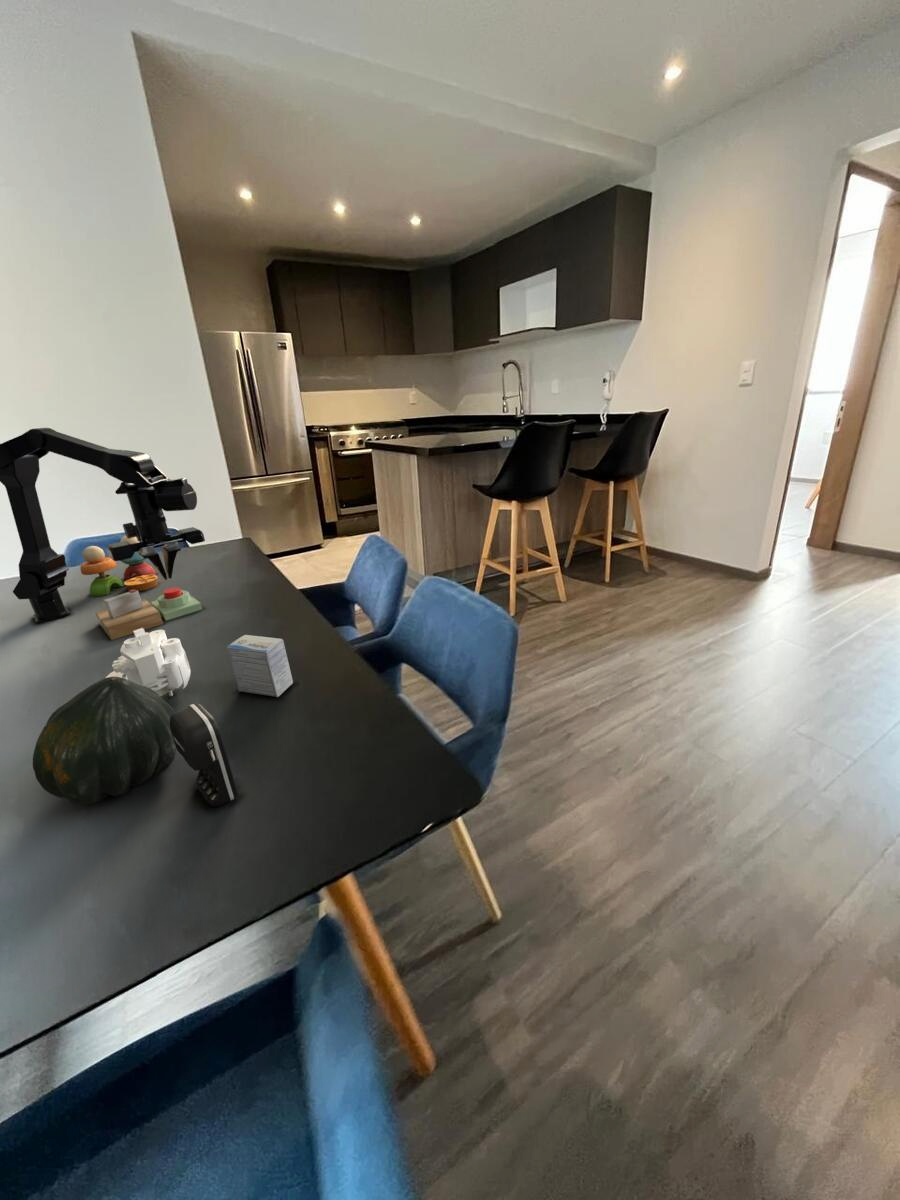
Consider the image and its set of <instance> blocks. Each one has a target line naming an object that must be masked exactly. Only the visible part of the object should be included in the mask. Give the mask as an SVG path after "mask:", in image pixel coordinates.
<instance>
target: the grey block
mask: <svg viewBox="0 0 900 1200" xmlns="http://www.w3.org/2000/svg"><path fill="white" fill-rule="evenodd" d="M141 600H142V599H141V595H140V591H137V590H134V589H133V590H130V591H129V590H128V591H127V592H124V593H121V594H118V595H114V596H112V597H109V598H105V599H103V602H104V604H105V607H106V610H108V613H109V616H110V617H112V618H115V617H118V616H121V615H123V614H126V613H129V612H132V611H134V610H137V609H140V608H142V607H143V604H142V601H141Z"/></svg>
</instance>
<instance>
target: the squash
mask: <svg viewBox="0 0 900 1200" xmlns="http://www.w3.org/2000/svg"><path fill="white" fill-rule="evenodd" d="M174 713H176V712H175V711H174V709H173V707H172V706H171V705H170V704H169V703H168V701H165V700H164V699H163V698H162V696H161V697H160V696H159V695H158V694H157V693H156V692H155V691H154V690H152V689H150V688H148V687H146V686H144V685H142V684H139V683H135V682H133V681H130V680H127V679H124V678H120V677H108V678H106V677H105V678H101V679H100V680H98V681H96V682H94V683H93V684H91V685H90V686H88V687H86V688H85V689H83V690H81V691H80V692H78V693H77V694H76V695H74V696H73V697H72V698H71V699H69V700H68V701H66V702H65V703H64V704H62V705H60V706H59V707H58V708H56V710H55V711H53V712H52V713H51V715H50V716H49V717H48V719H47V721H46V723H45V725H44V727H43V728H42V730H41V732H40V733H39V735H38V738H37V740H36V742H35V746H34V751H33V755H32V769H33V772H34V776H35V778H36V781H37V782H38V784H39V785H40V786H41V787H42V789H43V790H44V791H45V792H46V793H48V794H50V795H52V796H54V797H57V798H59V799H65V800H67V801H69V802H70V803H72V804H74V805H79V806H85V805H86V806H87V805H93V804H96V803H99V802H100V801H102V800H103V799H105V798H106V797H107V796H108V795H109V796H114V797H118V796H121V795H124V794H126V793H127V792H128V791H129V790H130V788H131V786H140V785H141V784H144V783H145V782H147V780H148V779H149V778H150V777H151V778H152V777H154V776H157V775H159V774H161V773H162V772H164V771H166V770H167V769H168V768H169V767H170V766H171V765H172V763H173V762H174V761H175V758H176V752H177V748H176V746H175V743H174V739H173V736H172V732H171V728H170V718H171V716H172V715H173V714H174Z"/></svg>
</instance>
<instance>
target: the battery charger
mask: <svg viewBox="0 0 900 1200" xmlns="http://www.w3.org/2000/svg"><path fill="white" fill-rule="evenodd" d="M170 728H171V732H172V736H173V739H174V743H175V746H176V751H178V753H179V754H180V755H181V756H182V758H183V759H184V761H185V762H186V764H187V765H188V766H189V767H190V768H191V769H192V770H194V771H198V774H197V778H196V780H195V786H196V788H197V790H198V791H199V792H200V794H201V795H202V796H203V798H204V799H205V800H206V803H208V804H209V805H210V806H211V807H213V808H214V807H220V806H222V805H224V804H227V803H228V802H230V801H231V802H232V801H233V800H235V798H237V797H238V796H239V791H238V788H237V784H236V781H235V778H234V773H233V771H232V767H231V763H230V759H229V757H228V753H227V749H226V746H225V743H224V740H223V736H222V733H221V730H220V727H219V725H218V723H217V721H216V719H215V718H214V716H213V715H212V714H211V713H210V712H209V711H208V710H207V709H206V708H205V707H204V706H203V705H202V704H201V703H200V702H199V703H198V702H197V703H192V704H189V705H188V706H187V707H185V708H182V709H180V710H178V711H176V712H175V713H174V714H173V715H172V716H171V718H170Z"/></svg>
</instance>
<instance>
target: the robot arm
mask: <svg viewBox="0 0 900 1200" xmlns="http://www.w3.org/2000/svg"><path fill="white" fill-rule="evenodd" d="M49 453H53V454H56V455H59V456H62V457H65V458H69V459H72V460H75V461H78V462H81V463H84V464H87V465H90V466H93V467H95V468H96V467H97V468H98V469H101V470H102V471H104V472H105V473H106V474H107V475H109V476H110V477H112V478H114V479H116V480H118V481H120V484H119V487H117V489H116V490H115V491H114V492H115V494H116V495H126V497H127V499H128V503H129V506H130V509H131V512H132V515H133V519H134V523H133V522H127V523H123V524H122V528H123V531H124V534H125V536H126V537H127V538H128V539H129V538H133V537H136V538H137V540H138V541H139V543H134V544H129V543H128V542H126V541H123V542H120V541H118V542H114V543H109V544H107V546H106V552H107V555H108V557H110V558H111V559H112V560H113V561H115V562H121V561H120V560H125V559H129V558H132V556H133V555H134V552H138V554H139V555H140V556H141V557H143V558H144V559H146V558H147V559H148V560H149V561H150V562H151V564H153V566H154V567H155V569H156V570H157V571H158V573H159V574H160V575H161V577H162V578H163V579H164V580H165V581H167V580H168V579H169V580H170V579H172V578H173V571H174V565H175V560H176V558H177V554H178V552H180V551H182V547H180V546H179V543H184V542H187V543H189V544H190V545H194V544H199V543H204V542H205V541H206V539H205V534H204V533H203V531H202V530H200V529H198V528H197V527H193V526H192V527H187V528H182V529H178V530H177V534H173V535H171V534H170V531H169V528H168V525H167V518H166V516H165V514H164V511H165V512H178V511H179V512H180V511H194V510H195V509H196V507H197V505H198V496H197V492H196V491H195V489H194V488H193V486H192V485H191V484H190V483H188V478H186V477H181V478H177V479H176V478H175V479H170V478H169V477H168V476H167V475H166V474H165V473H164V472H163V471H162V470H161V469H160V468H159V467H157V465H155V463H154V461H153V460H152V458H151V456H149V454H147V453H145V452H141V451H134V450H127V449H115V448H114V449H113V448H108V447H105V446H104V445H103V446H102V445H100V444H97V443H93V442H90V441H87V440H83V439H80V438H79V437H75V436H72V435H68V434H65V433H63V432H59V431H57V430H55V429H53V428H50V427H38V428H31V429H29V430H27V431H26V432H23V433H22V434H20V435H18V436H16V437H13V438H11V439H8V440H6V441H4V442H2V443H0V483H1V484H2V485H3V486H4V488H5V490H6V493H7V498H8V501H9V505H10V508H11V512H12V515H13V520H14V523H15V527H16V531H17V533H18V537H19V541H20V545H21V548H22V553H21V556H20V558H19V562H18V571H19V572H18V574H19V575H18V576H19V580H18V582H17V584H16V585H15V587H14V589H13V590H12V593H13V595H14V596H15V597H16V598H17V599H18V600H28V601H29V603H30V606H31V608H32V611H33V613H34V614H33V615H32V616H33V618H34V620H35V623H36V624H40V623H41V624H42V623H45V622H49V621H52V620H55V619H59V618H63V617H67V616H70V615H71V612H70V610H69V609H68V607H67V606H65V604H64V601H63V599H62V597H61V594H60V592H59V588H61V587H64V586H65V583H66V581H65V580H66V579H65V578H66V577H67V575H68V571H69V570H70V569H69V567H68V565H67V562H66V555H65V554H64V553H57V551H55V550H54V549H53V548H52V546H51V543H50V539H49V535H48V531H47V528H46V524H45V518H44V516H43V511H42V507H41V504H40V500H39V495H38V492H37V488H36V484H37V481H38V477H39V475H40V471H41V470H40V459H42V458H43V457H45V456H47V455H48V454H49ZM156 548H160V550H161V553H162V556H163V557H162V558H163V562H164V565H163V562H162V559H161V556H160V554H159V553H158V552H157V551H155V549H156ZM147 559H146V560H147Z"/></svg>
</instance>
